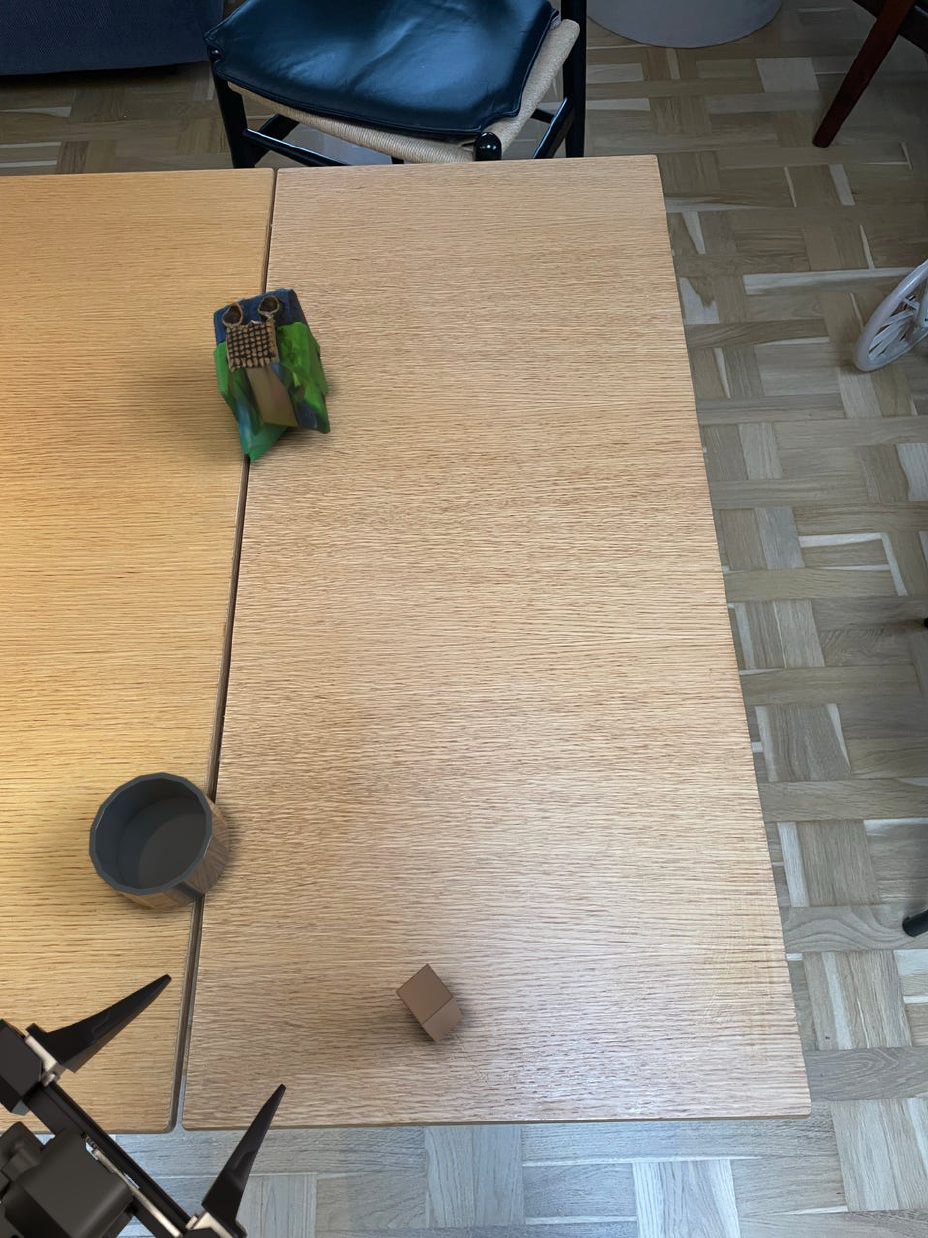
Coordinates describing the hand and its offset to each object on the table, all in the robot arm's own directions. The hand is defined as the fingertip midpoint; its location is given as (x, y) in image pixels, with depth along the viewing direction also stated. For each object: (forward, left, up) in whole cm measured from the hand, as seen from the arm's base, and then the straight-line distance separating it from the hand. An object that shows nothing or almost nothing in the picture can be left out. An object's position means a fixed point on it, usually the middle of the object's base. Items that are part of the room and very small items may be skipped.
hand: (226, 1030), depth 57 cm
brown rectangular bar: (+9, -8, -17) cm, 20 cm away
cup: (+6, +17, -17) cm, 25 cm away
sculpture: (+45, +40, -17) cm, 63 cm away
